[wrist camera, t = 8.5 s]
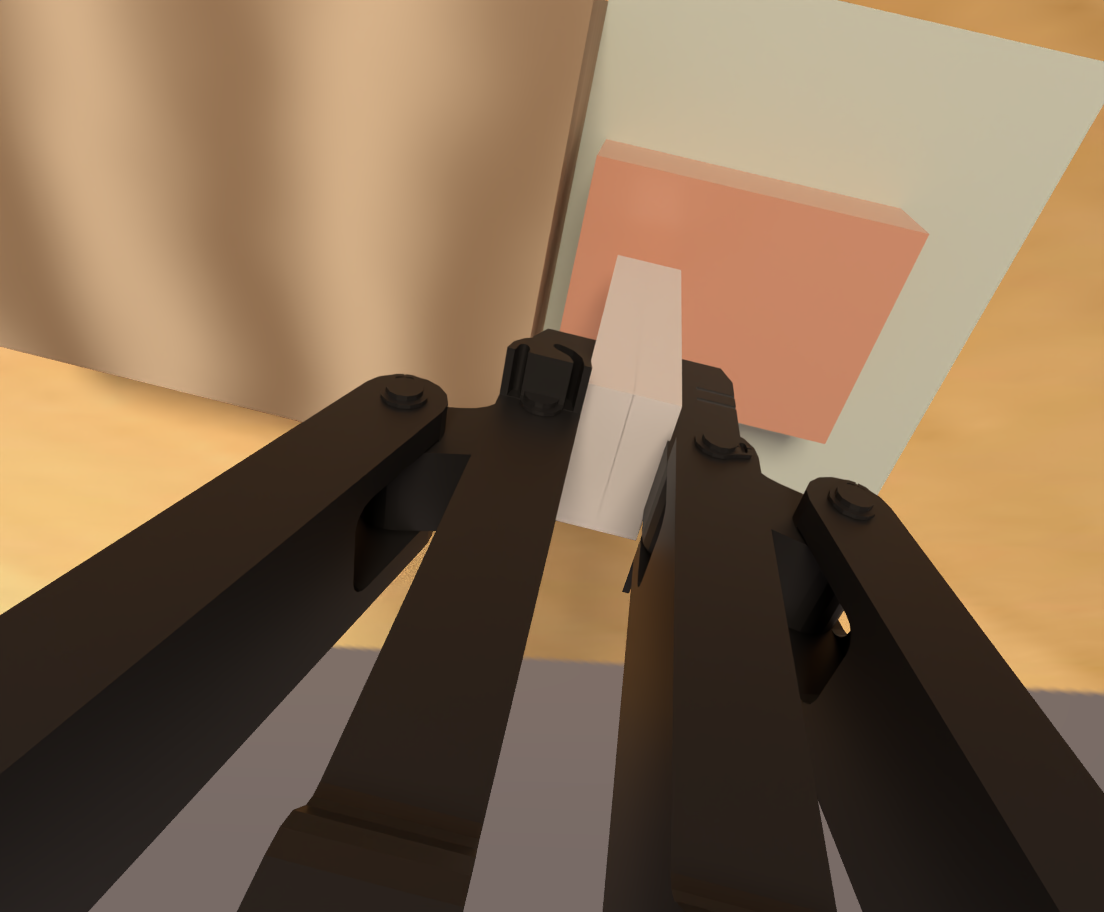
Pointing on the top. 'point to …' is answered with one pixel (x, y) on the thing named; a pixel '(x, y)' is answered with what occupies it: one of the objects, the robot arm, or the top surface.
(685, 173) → the tile
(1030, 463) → the top surface
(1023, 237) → the mat
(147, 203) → the deck
